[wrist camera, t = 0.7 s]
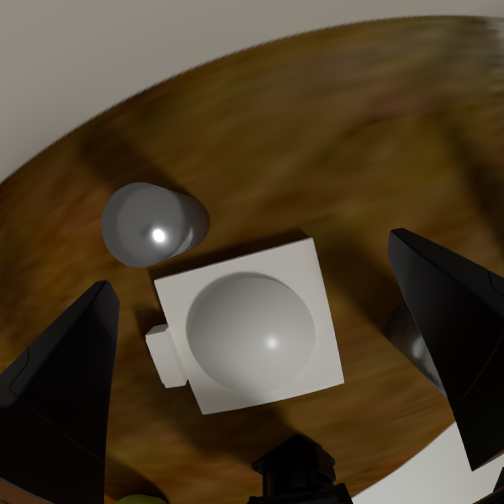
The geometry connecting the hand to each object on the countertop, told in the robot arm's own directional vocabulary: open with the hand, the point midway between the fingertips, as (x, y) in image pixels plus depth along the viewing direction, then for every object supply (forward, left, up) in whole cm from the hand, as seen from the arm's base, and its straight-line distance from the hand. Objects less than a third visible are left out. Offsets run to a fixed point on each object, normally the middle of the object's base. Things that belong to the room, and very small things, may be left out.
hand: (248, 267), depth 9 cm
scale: (-7, -5, -16) cm, 18 cm away
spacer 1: (-3, +5, -16) cm, 17 cm away
